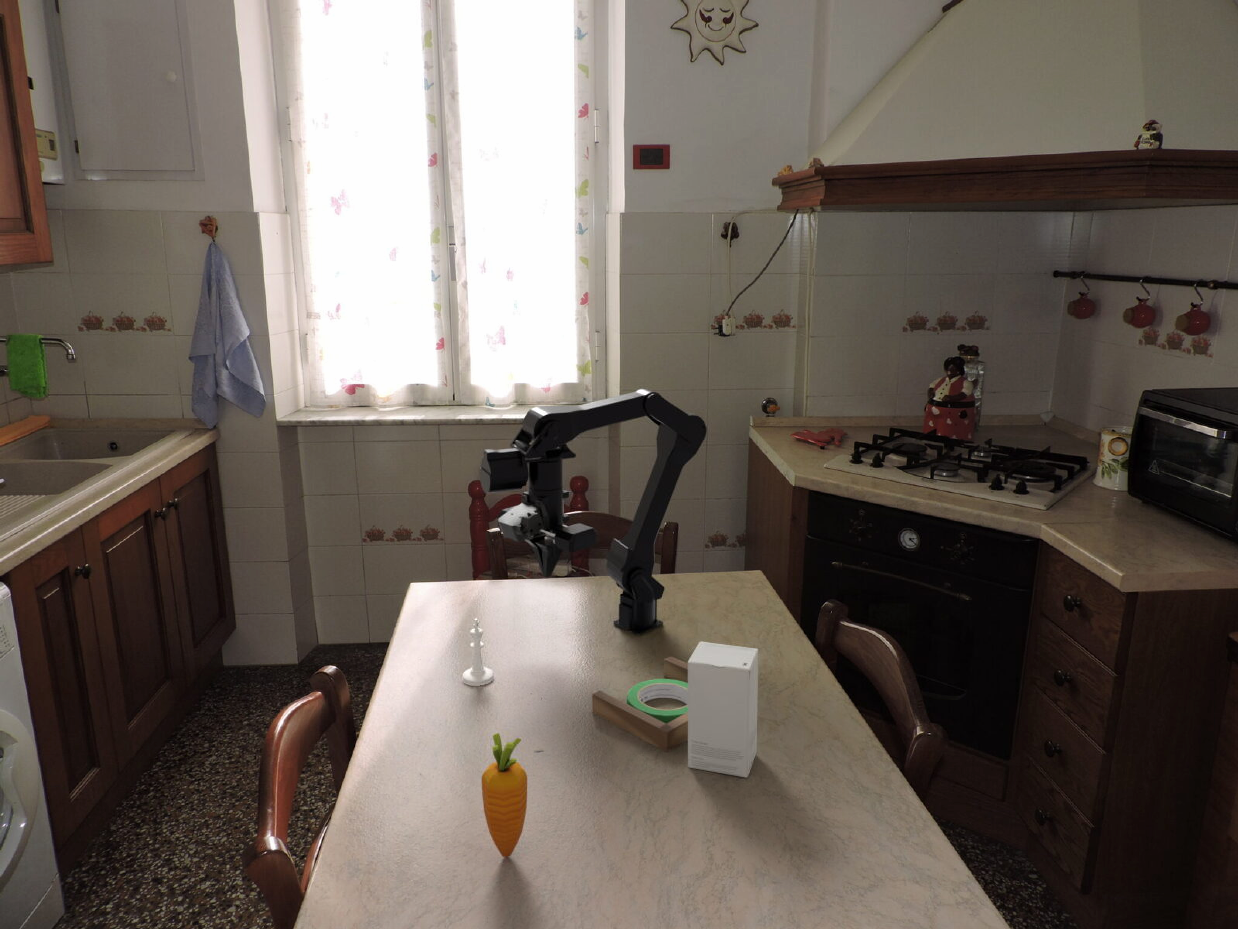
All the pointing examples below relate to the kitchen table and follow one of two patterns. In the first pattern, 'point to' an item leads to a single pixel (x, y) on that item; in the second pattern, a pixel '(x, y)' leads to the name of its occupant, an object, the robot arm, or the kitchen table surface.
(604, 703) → the corral
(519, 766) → the carrot
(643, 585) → the robot arm
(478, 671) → the chess piece
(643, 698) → the tape roll
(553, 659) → the kitchen table surface
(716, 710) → the skincare box
